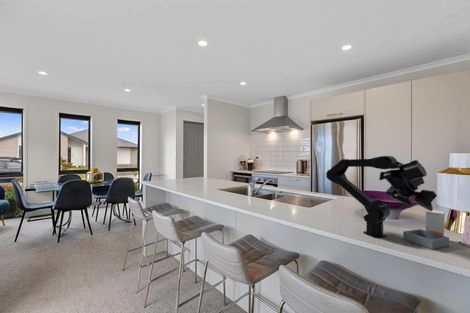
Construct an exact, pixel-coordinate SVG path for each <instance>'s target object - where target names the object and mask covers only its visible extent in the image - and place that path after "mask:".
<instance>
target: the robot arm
mask: <svg viewBox="0 0 470 313" xmlns="http://www.w3.org/2000/svg"><path fill="white" fill-rule="evenodd" d="M349 167H350V168H353V167H354V168H356V167H357V168H362V167H363V168H366V167H367V168H368V167H370V168H374V169H381V170H386V171H380V173H379V177H378V178H379V181H383V180H386V181H387V182H388V184H390V186H389V188H388V189H387V190H386V194H385V195H387V197H389V198H391V199H393V200H396V201H398V202H401V203H403V204H405V205H407V206H410V207H411V206H412V205H413V203H412V201H411V200H410V199H409V198H410V197H413V198H414V201H415V203H417V206H420V207H422V208H424V209H426V210H429V211H432V210H434V208H433V204H432V202H433V200H434V199H436V197H437V196H438V195H437V193H436V192H434V190H428V189H421V191H417V190H418V189H419V186H421V185H424V184H425V181H424V177H427V170H426V169H425V167H424V166H423V165H422V164H421V163H420V162H419V160H418V159H415V160H412V161H410V162H408V163H402V162H399V161H398V160H397V159H396V158H395V157H394V156H391V155H382V156H377V157H371V158H356V159H349V158H343V159H340V160H339V161H338V162H337V163H336V164H334V166H331V168H330V169H328V170H327V171H326V173H325V174H326V175H325V176H326V178H327V179H328V181H330V182H332V183H334V184H337V185H339V186H340V187H342V188H343V189H344V190H345V191H346V192H347V193H348V194H349V195H350V196H352V197H353V198H354V199H355V200H356V201H357V202H359V203H360V204H361V205H362V206H363V207H364V209H365V211H366V214H365V215H363V220H364V221H365V222H366V223H365V224H366V226H365V227H366V229H365V231H363V234H365V235H368V236H371V237H372V238H377V239H378V238H383V237H387V234H386V233H384V221H386V219H387V218H389V217H390V216H391V210H390V208H389V207H388V204H385V203H384V202H383V201H382V200H381V199H375V200H374V199H372V198H371V197H370V196H369V195H367V194H366V193H365V192H364V191H362V189H360V188H359V187H357V185H355V184H354V183H352V182H351V180H349V179H348V177H347V175H346V172H347V170H348V168H349Z"/></svg>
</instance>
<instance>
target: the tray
mask: <svg viewBox="0 0 470 313" xmlns="http://www.w3.org/2000/svg"><path fill="white" fill-rule="evenodd" d="M402 234H403V236H402V238H403V241H406V242H410V243H412V244H415V245H418V246H420V247H423V248H425V249H429V250H431V251H432V250H437V249H443V248H446V247H450V237H448V236H445V235H444V236H442V235H439V234H435V233H432V232H429V231H425V229H421V228H417V229H411V230H410V229H409V230H403V232H402Z"/></svg>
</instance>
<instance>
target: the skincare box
mask: <svg viewBox="0 0 470 313" xmlns="http://www.w3.org/2000/svg"><path fill="white" fill-rule="evenodd" d="M445 221H446V211H441V210H434V209H433V210H432V211H429V210H427V209H426V210H425V224H424V225H425V226H424V230H425V231H429V232H432V233H435V234H439V235H442V236H445V223H446V222H445Z"/></svg>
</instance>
